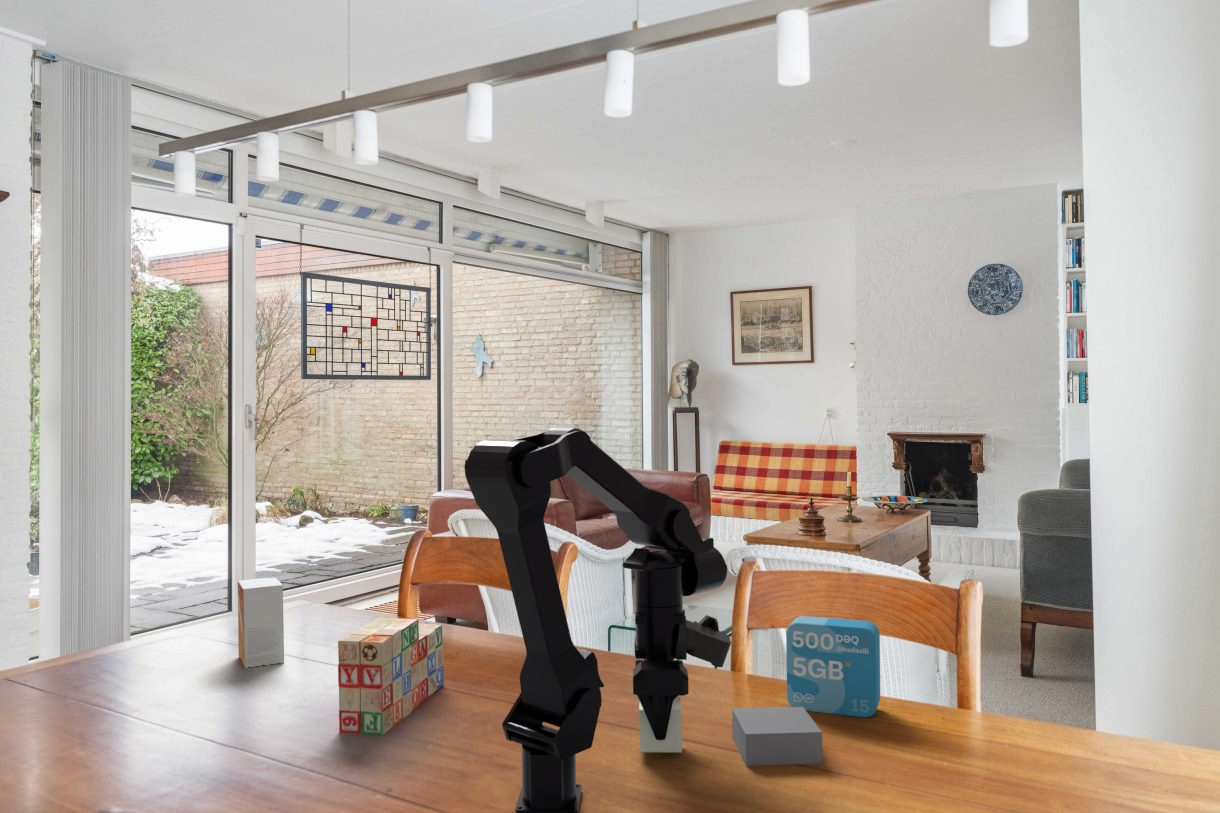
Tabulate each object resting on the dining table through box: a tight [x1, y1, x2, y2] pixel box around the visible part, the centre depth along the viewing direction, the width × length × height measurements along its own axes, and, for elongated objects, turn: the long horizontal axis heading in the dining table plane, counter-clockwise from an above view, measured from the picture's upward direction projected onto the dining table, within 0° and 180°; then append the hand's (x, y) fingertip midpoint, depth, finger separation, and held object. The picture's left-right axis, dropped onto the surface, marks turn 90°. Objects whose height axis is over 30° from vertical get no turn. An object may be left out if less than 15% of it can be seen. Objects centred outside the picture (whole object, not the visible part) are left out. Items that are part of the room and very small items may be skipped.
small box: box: [237, 577, 285, 669], centre depth 154 cm, size 8×6×13 cm
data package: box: [785, 615, 881, 718], centre depth 127 cm, size 12×4×12 cm, turn 68°
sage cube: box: [638, 696, 683, 753], centre depth 112 cm, size 5×5×5 cm
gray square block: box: [731, 706, 823, 767], centre depth 112 cm, size 9×9×4 cm
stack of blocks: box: [337, 617, 445, 736], centre depth 130 cm, size 21×6×12 cm, turn 169°
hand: (660, 731), depth 112 cm, fingers closed on sage cube, 5 cm apart
